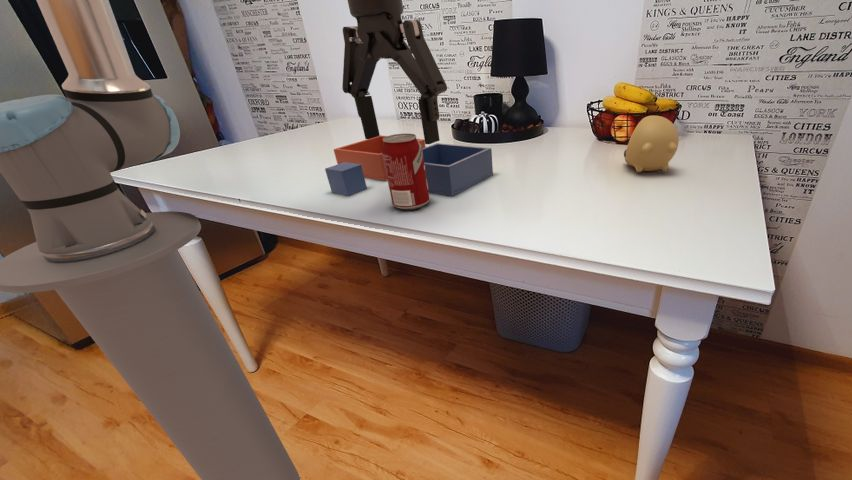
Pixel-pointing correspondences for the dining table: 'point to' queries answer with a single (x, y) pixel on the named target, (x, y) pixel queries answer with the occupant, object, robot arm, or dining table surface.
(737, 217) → the dining table surface
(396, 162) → the soda can
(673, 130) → the toy pig
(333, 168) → the blue block
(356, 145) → the red bin
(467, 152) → the blue bin
